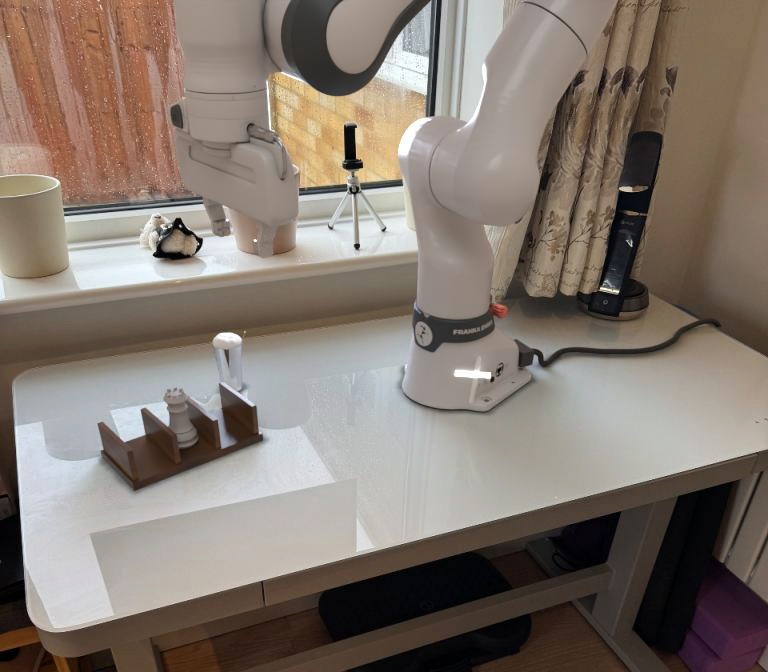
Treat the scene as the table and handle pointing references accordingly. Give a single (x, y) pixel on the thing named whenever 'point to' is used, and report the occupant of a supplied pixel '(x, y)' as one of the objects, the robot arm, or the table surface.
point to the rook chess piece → (180, 418)
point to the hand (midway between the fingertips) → (242, 245)
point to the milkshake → (229, 359)
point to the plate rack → (160, 445)
